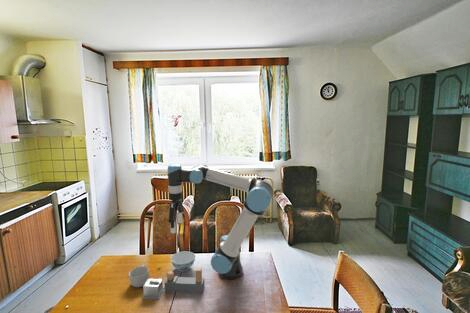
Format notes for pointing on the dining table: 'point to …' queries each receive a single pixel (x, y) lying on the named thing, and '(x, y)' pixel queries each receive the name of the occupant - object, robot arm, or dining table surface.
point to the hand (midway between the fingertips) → (176, 227)
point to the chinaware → (183, 260)
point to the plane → (185, 282)
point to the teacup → (139, 276)
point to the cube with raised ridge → (153, 287)
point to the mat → (153, 297)
